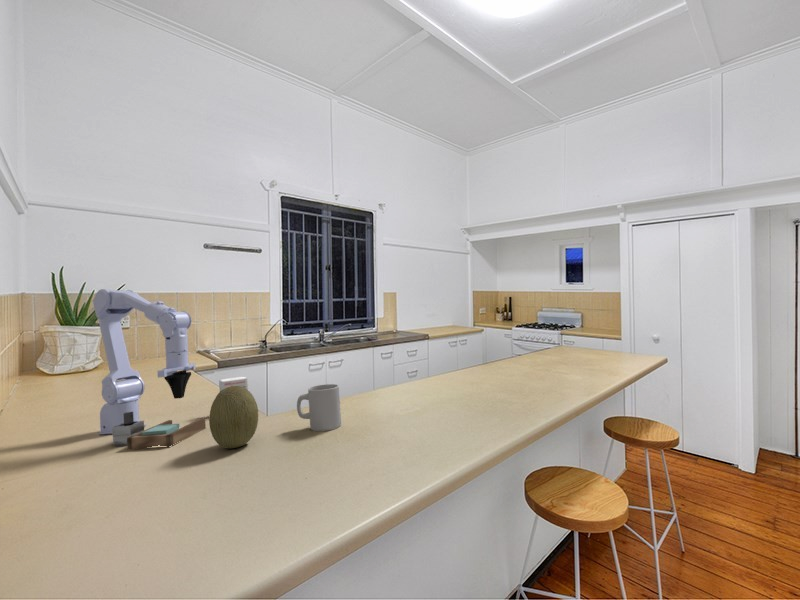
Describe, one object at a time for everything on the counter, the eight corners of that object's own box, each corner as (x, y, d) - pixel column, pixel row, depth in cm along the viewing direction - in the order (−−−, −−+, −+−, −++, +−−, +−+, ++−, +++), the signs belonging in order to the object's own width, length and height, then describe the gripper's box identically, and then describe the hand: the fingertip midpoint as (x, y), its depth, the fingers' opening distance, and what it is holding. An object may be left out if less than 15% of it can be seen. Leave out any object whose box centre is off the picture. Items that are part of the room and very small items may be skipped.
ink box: (222, 416, 124) (220, 381, 125) (220, 413, 128) (218, 379, 129) (249, 411, 129) (247, 377, 130) (246, 408, 133) (244, 375, 134)
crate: (142, 448, 97) (141, 432, 97) (157, 440, 103) (156, 425, 103) (166, 446, 97) (165, 430, 97) (179, 438, 103) (179, 423, 103)
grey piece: (106, 447, 99) (105, 428, 99) (126, 438, 106) (126, 420, 106) (131, 445, 99) (131, 426, 99) (150, 437, 106) (149, 419, 106)
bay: (127, 449, 96) (127, 437, 96) (168, 430, 112) (168, 420, 112) (170, 447, 95) (170, 435, 95) (205, 428, 111) (205, 417, 111)
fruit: (212, 444, 95) (209, 385, 96) (259, 435, 100) (255, 379, 100) (208, 458, 85) (205, 392, 85) (261, 448, 89) (257, 385, 90)
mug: (343, 421, 108) (340, 383, 108) (339, 430, 99) (336, 388, 100) (302, 424, 108) (299, 386, 108) (294, 433, 99) (291, 392, 100)
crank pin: (122, 434, 102) (121, 413, 102) (128, 431, 104) (127, 411, 104) (129, 433, 101) (128, 413, 102) (136, 431, 104) (135, 411, 104)
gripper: (174, 353, 103) (176, 402, 102) (204, 348, 117) (206, 391, 117) (149, 355, 103) (151, 404, 103) (182, 350, 118) (184, 393, 117)
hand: (178, 397), depth 110 cm, fingers closed
